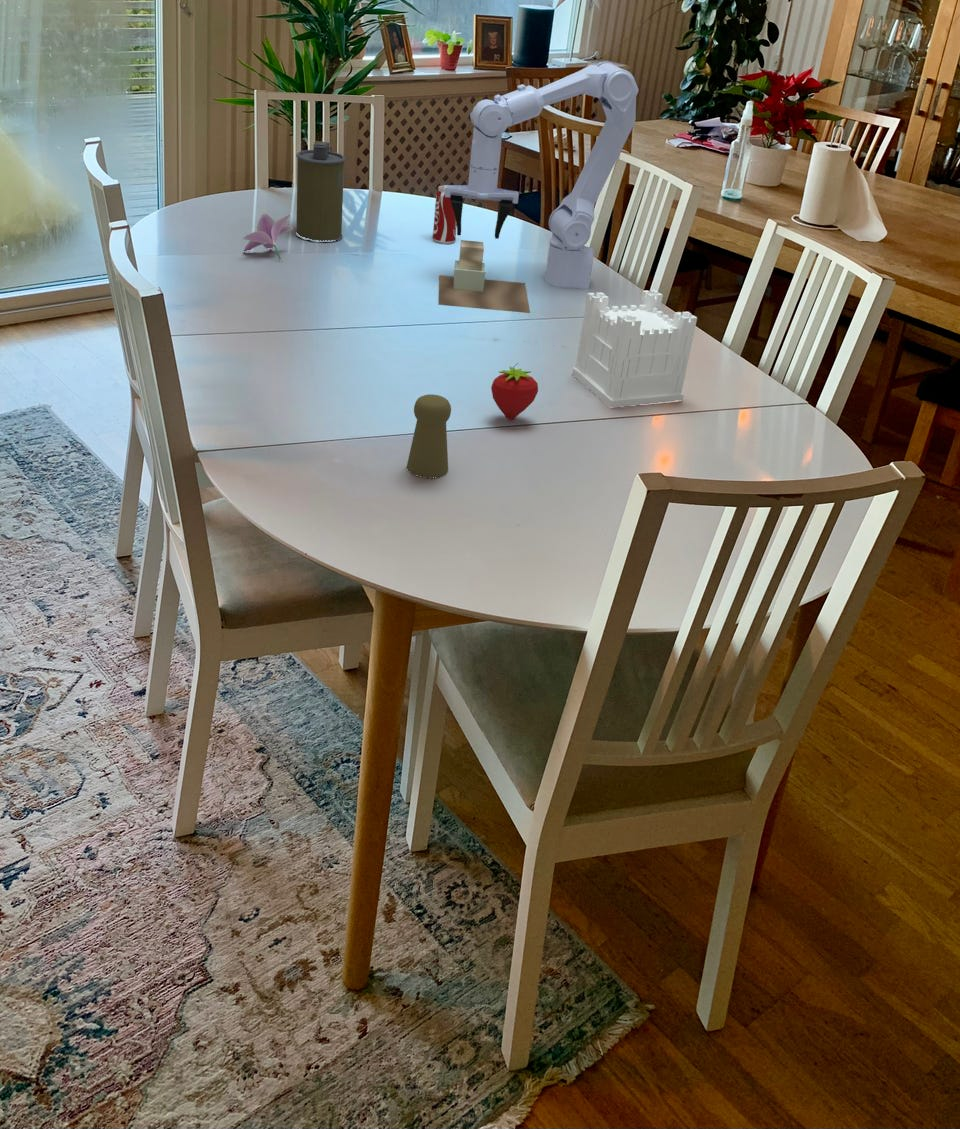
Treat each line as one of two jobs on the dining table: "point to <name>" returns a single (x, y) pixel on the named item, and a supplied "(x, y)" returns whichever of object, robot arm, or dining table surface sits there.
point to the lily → (267, 232)
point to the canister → (320, 193)
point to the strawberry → (514, 391)
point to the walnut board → (485, 295)
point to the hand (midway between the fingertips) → (477, 235)
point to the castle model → (633, 351)
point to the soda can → (444, 219)
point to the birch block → (471, 255)
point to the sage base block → (469, 278)
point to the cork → (430, 437)
